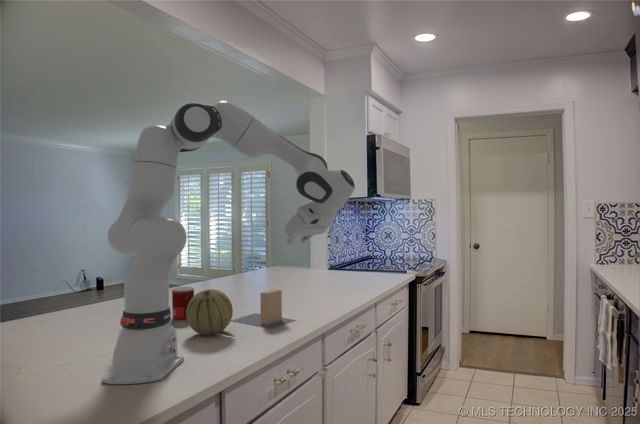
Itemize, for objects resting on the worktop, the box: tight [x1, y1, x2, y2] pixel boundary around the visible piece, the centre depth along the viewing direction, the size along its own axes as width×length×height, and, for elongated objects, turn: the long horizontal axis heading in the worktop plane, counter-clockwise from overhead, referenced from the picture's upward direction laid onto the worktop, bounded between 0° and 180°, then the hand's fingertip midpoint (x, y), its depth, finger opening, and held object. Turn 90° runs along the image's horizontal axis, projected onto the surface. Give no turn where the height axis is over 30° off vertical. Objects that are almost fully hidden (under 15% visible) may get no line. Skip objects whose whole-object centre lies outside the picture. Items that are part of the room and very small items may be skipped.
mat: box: [230, 312, 297, 330], centre depth 161 cm, size 20×14×1 cm
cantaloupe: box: [186, 289, 234, 336], centre depth 145 cm, size 15×15×15 cm
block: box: [260, 288, 283, 325], centre depth 158 cm, size 3×8×11 cm, turn 146°
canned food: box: [171, 286, 195, 321], centre depth 168 cm, size 8×8×11 cm
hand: (295, 241), depth 152 cm, fingers open, 6 cm apart
